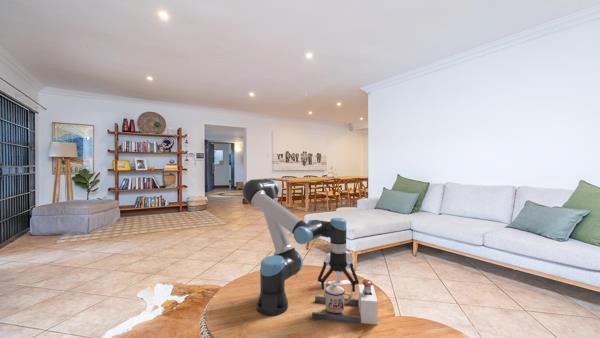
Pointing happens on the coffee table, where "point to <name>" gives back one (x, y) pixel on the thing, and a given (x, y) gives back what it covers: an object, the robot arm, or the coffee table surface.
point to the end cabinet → (368, 306)
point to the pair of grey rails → (336, 316)
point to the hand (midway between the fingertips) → (337, 297)
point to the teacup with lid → (335, 298)
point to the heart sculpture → (339, 281)
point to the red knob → (367, 287)
